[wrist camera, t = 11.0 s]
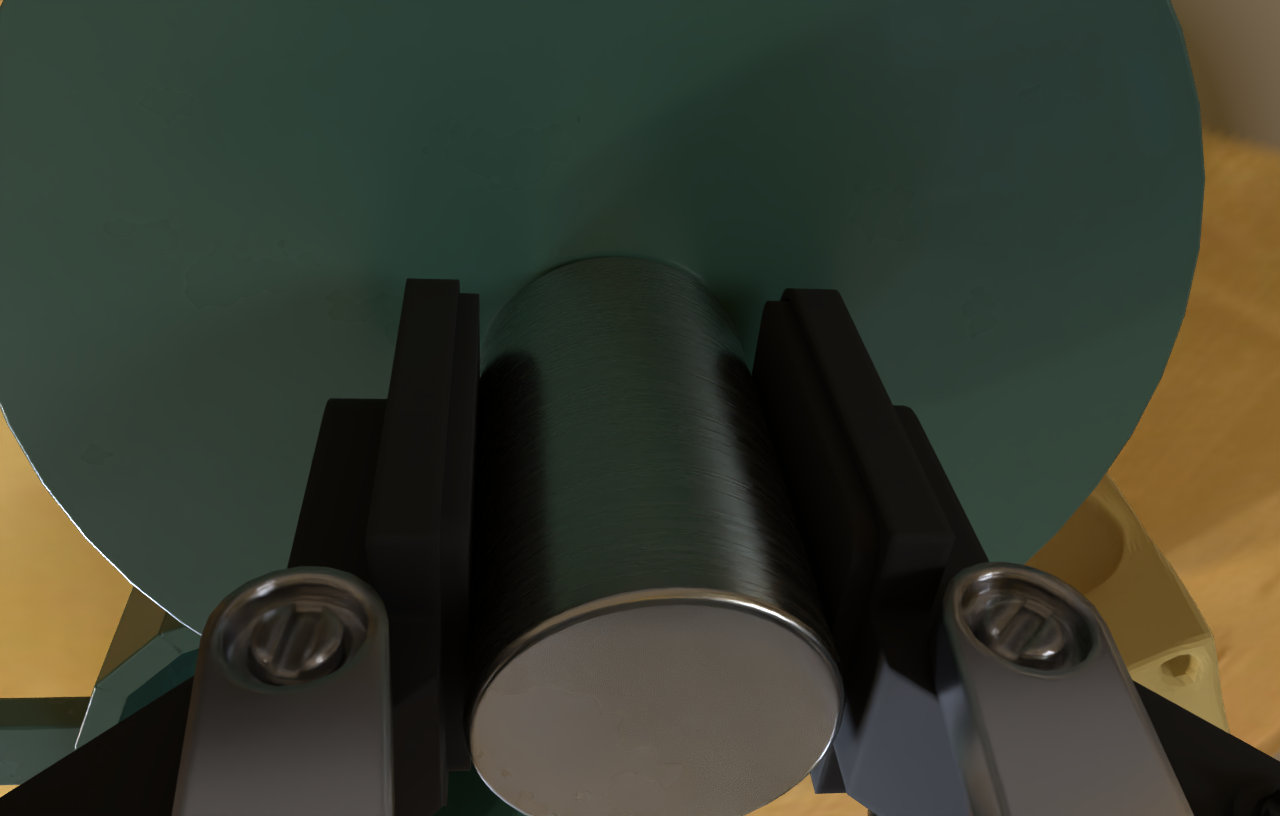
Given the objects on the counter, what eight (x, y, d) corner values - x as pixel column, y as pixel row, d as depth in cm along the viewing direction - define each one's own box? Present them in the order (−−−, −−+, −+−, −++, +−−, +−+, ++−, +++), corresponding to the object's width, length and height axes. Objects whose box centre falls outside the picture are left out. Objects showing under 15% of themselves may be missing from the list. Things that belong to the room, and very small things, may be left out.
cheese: (768, 518, 37) (838, 770, 29) (1076, 394, 35) (1244, 626, 27) (862, 689, 43) (942, 938, 35) (1130, 591, 41) (1281, 830, 33)
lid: (-207, -446, 8) (-1195, -519, 4) (1373, -286, 10) (2173, -187, 5) (129, 691, 16) (-34, 1149, 12) (983, 674, 18) (1156, 1067, 13)
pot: (37, 375, 31) (-109, 607, 24) (660, 385, 33) (701, 599, 26) (123, 669, 38) (32, 915, 31) (629, 661, 40) (653, 888, 33)
